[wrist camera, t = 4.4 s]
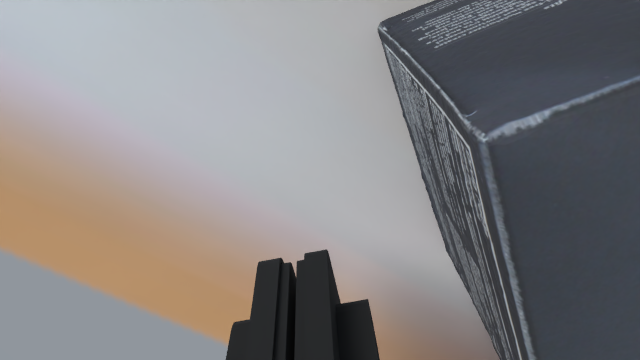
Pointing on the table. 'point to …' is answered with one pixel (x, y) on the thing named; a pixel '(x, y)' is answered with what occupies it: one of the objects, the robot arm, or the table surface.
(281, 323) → the robot arm
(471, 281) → the small box
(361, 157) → the table surface
